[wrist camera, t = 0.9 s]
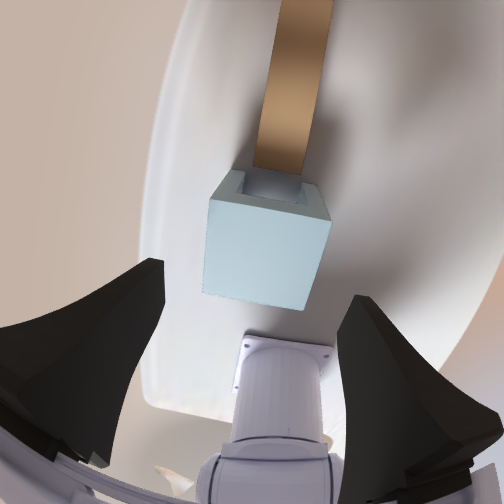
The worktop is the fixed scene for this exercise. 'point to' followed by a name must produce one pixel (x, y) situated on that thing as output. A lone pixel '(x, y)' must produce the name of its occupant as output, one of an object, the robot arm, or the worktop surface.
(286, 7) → the brown board
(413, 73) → the worktop surface
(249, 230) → the light blue open box
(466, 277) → the worktop surface
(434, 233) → the worktop surface
